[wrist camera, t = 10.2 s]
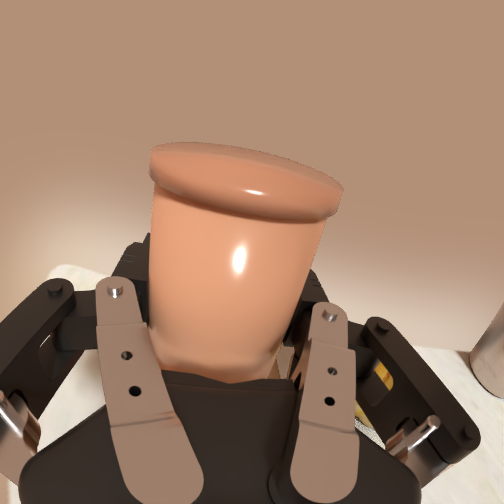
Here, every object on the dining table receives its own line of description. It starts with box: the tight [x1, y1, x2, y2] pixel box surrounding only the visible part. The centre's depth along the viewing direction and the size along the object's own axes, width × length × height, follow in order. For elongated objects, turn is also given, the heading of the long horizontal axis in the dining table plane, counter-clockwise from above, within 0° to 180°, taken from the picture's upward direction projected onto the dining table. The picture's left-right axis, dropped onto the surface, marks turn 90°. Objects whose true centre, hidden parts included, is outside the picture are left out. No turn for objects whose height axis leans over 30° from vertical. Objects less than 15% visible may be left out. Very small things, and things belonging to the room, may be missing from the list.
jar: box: [149, 142, 344, 384], centre depth 11 cm, size 6×6×11 cm
